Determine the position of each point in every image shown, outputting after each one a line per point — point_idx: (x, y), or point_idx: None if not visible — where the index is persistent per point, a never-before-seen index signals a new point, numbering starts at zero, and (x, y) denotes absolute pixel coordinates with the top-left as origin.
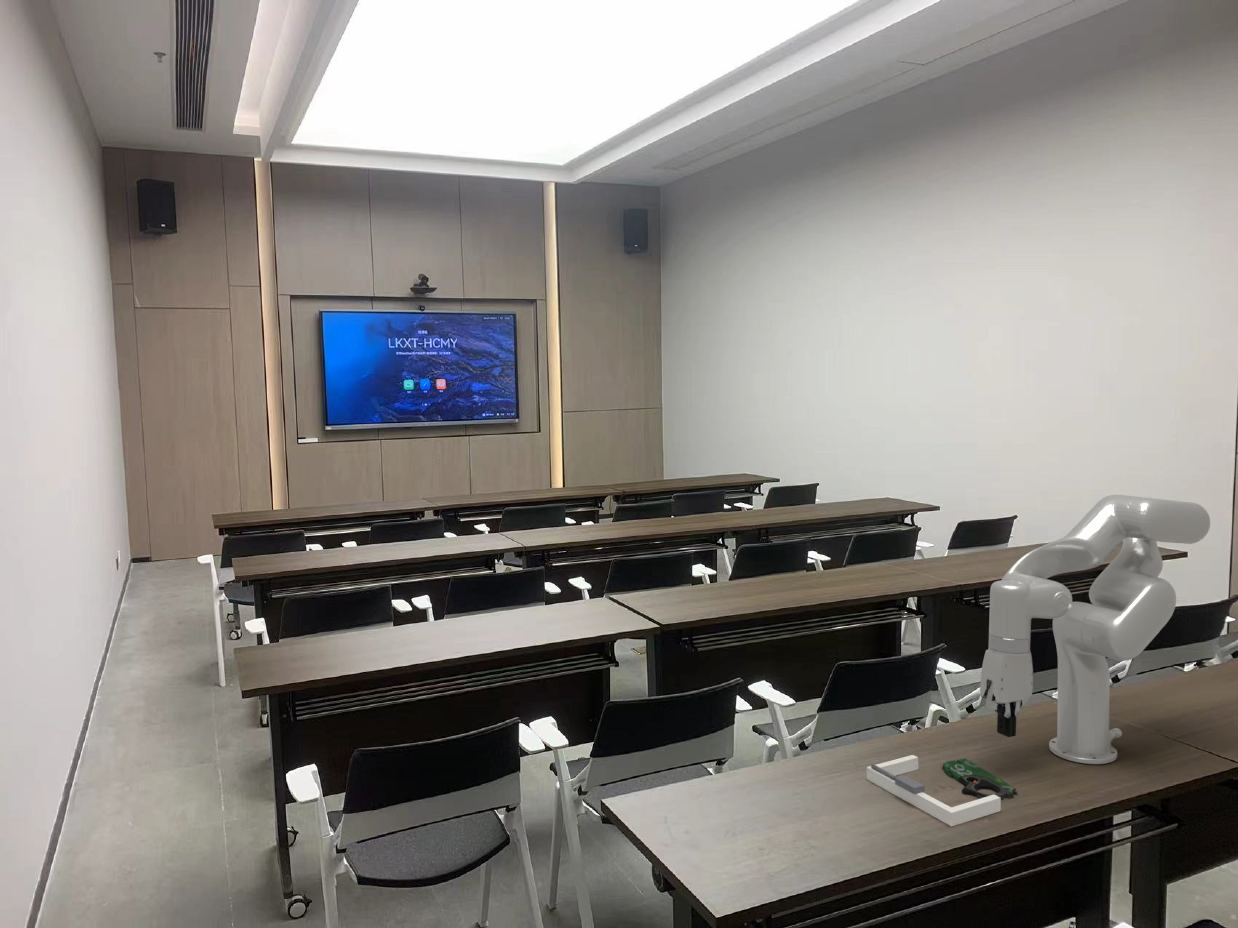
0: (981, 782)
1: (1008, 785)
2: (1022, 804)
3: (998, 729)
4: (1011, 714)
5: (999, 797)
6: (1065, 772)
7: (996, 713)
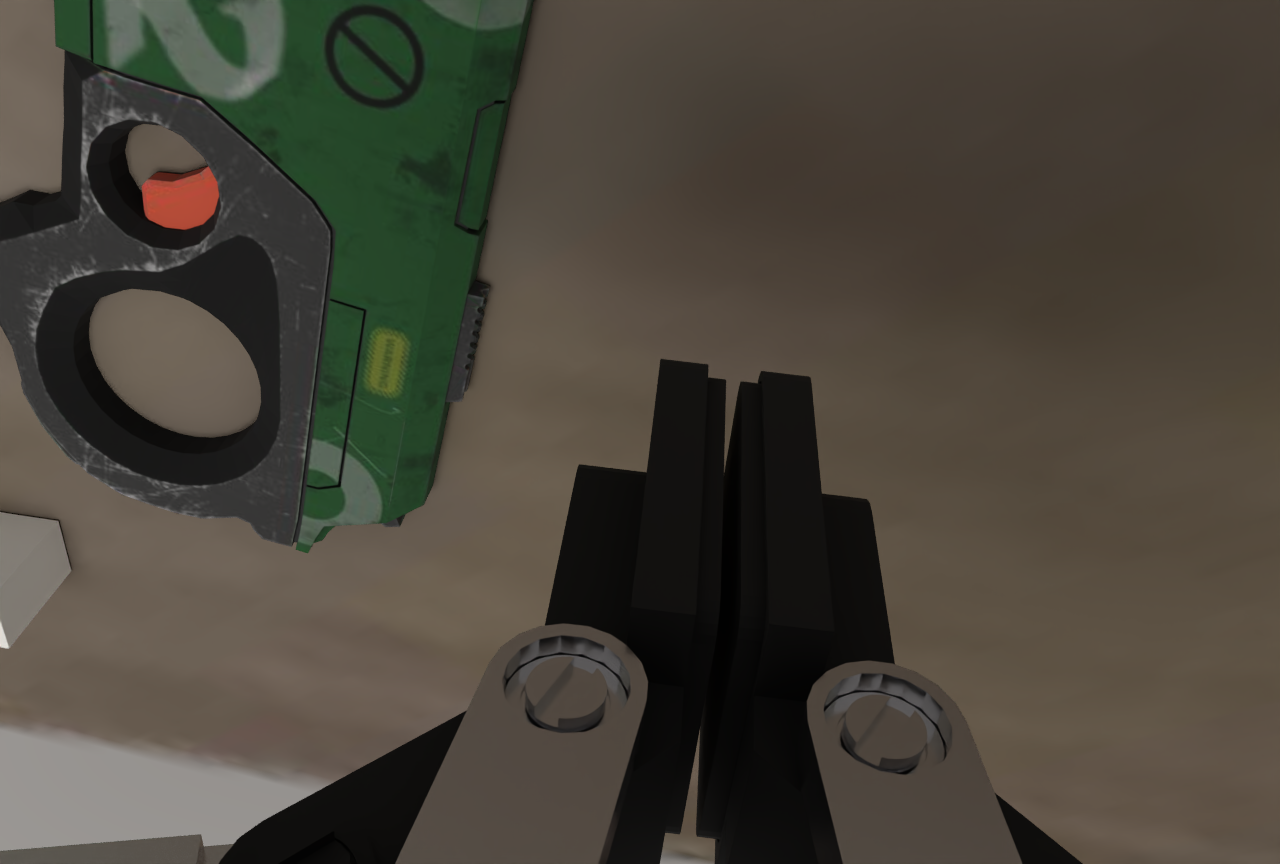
0: (219, 265)
1: (383, 466)
2: (304, 607)
3: (580, 465)
4: (726, 848)
5: (1, 642)
6: (1198, 544)
7: (533, 639)
